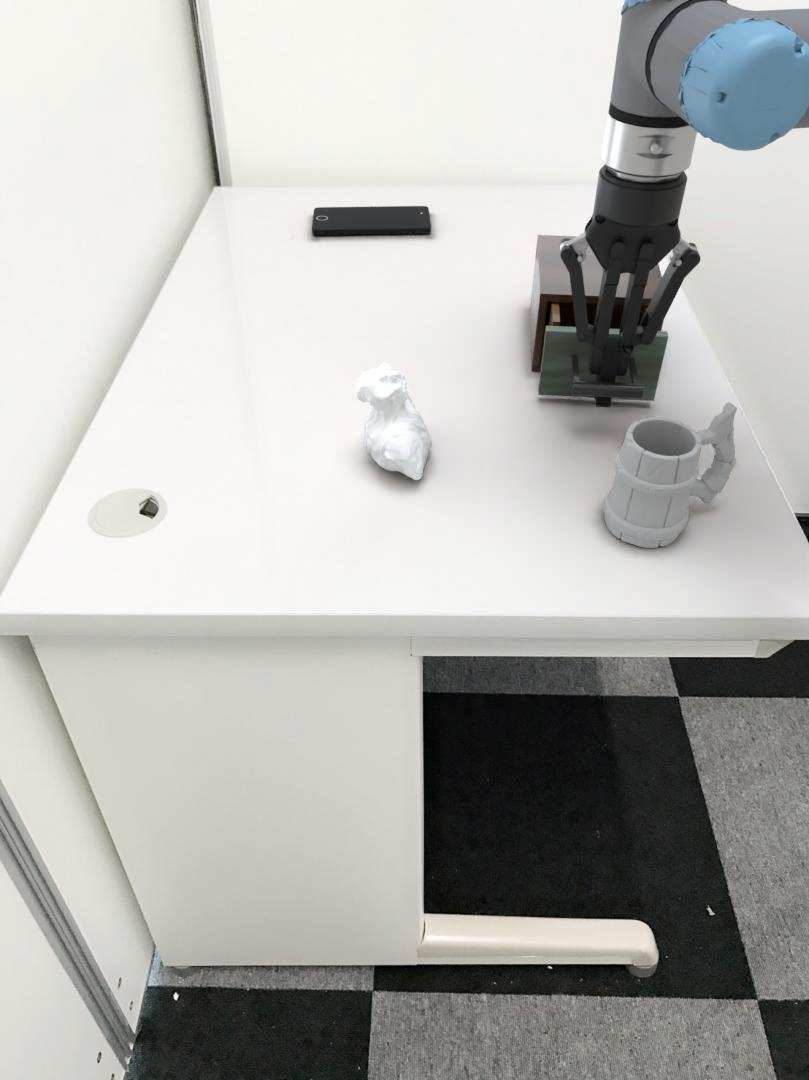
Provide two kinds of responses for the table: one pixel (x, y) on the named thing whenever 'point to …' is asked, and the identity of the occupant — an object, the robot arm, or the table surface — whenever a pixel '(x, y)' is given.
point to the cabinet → (569, 287)
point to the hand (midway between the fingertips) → (601, 399)
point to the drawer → (570, 357)
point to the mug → (666, 477)
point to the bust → (393, 423)
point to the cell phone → (371, 220)
